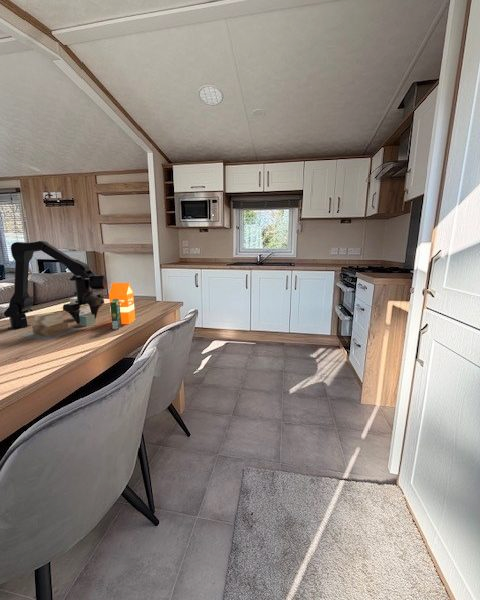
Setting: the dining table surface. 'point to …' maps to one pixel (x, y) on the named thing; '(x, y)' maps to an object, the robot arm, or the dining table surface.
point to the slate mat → (49, 336)
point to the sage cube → (87, 319)
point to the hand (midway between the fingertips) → (86, 321)
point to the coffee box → (115, 314)
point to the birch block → (49, 319)
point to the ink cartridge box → (83, 309)
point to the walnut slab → (50, 329)
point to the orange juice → (123, 301)
